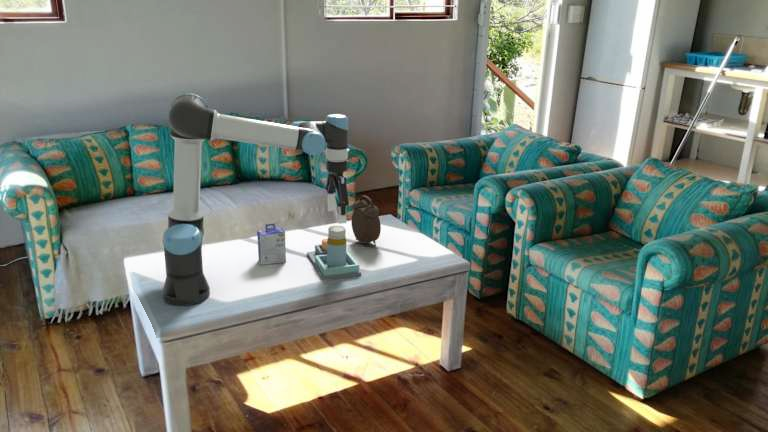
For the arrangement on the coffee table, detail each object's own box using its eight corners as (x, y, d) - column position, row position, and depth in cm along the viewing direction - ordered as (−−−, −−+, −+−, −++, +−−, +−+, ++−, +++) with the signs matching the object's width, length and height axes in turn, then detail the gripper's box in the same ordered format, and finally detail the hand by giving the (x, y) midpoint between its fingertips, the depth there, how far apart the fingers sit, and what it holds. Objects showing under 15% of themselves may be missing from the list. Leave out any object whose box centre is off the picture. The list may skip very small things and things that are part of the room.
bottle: (349, 265, 246) (350, 227, 241) (338, 272, 241) (339, 233, 236) (334, 261, 250) (335, 223, 245) (323, 267, 244) (323, 229, 239)
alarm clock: (383, 247, 267) (384, 200, 260) (367, 250, 263) (368, 202, 257) (364, 235, 279) (365, 190, 272) (349, 238, 275) (350, 192, 268)
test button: (323, 256, 252) (323, 243, 250) (320, 251, 256) (320, 239, 255) (335, 254, 254) (335, 242, 252) (332, 250, 258) (332, 238, 256)
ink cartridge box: (283, 256, 255) (282, 221, 251) (286, 262, 251) (286, 226, 246) (257, 260, 252) (256, 224, 247) (260, 265, 247) (259, 229, 242)
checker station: (324, 280, 237) (323, 269, 235) (307, 254, 258) (306, 244, 256) (361, 275, 241) (361, 264, 240) (341, 250, 263) (341, 241, 261)
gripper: (358, 167, 222) (357, 227, 229) (337, 150, 244) (336, 205, 251) (337, 169, 219) (336, 229, 227) (317, 151, 241) (317, 206, 248)
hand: (336, 216), depth 239 cm, fingers open, 13 cm apart
